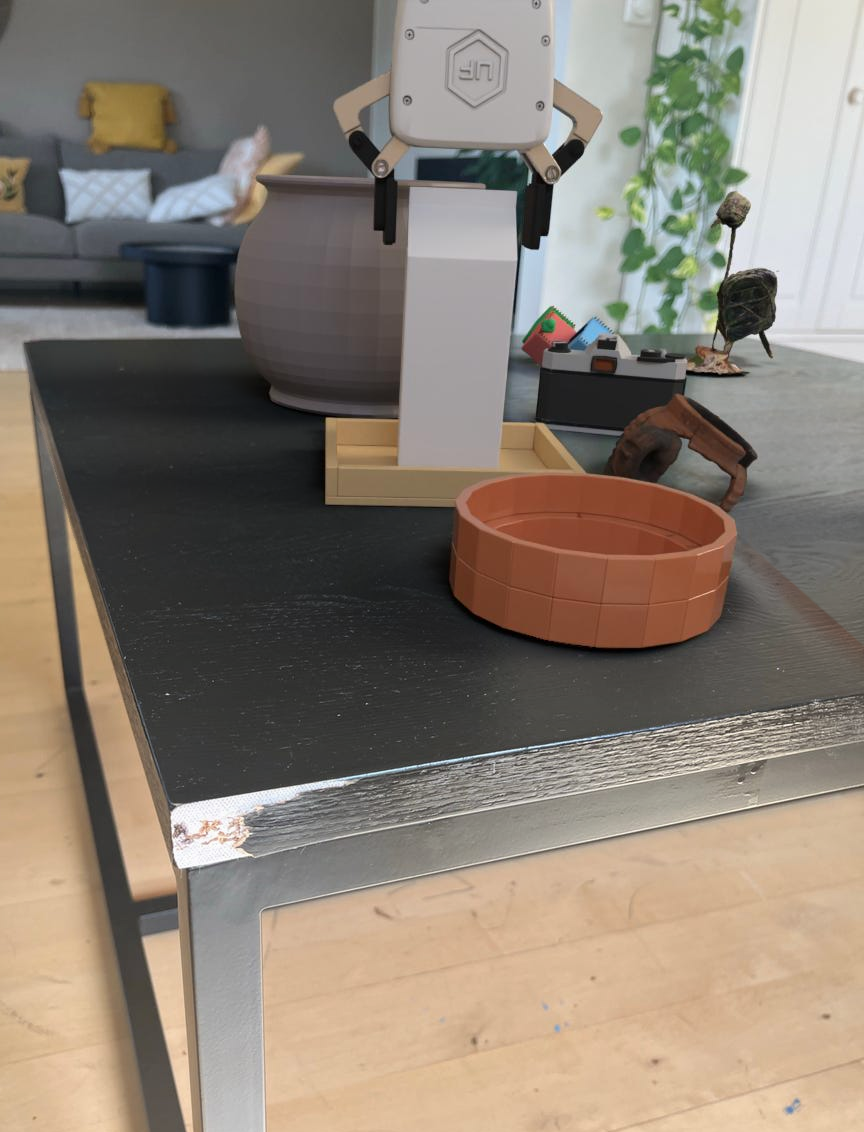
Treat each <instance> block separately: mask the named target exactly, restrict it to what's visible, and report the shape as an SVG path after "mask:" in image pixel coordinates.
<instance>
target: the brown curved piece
mask: <svg viewBox="0 0 864 1132" xmlns="http://www.w3.org/2000/svg"><path fill="white" fill-rule="evenodd" d="M681 438H682V439H684V440H687V441H688V443H687V448H688V449H689V450H691V451H693V452H695V453H697V454H699V455H700V456H701V457H702V458H703V459H705V460H706V461H708V462H712V463H714V464H715V465H717V467H718V468H719V469H720V470H721V471H722V472H724V473H726V474H728V475H729V476H730V481H729V486H728V489H727V490H726V493H725V494H724V496H723V498H722V499H721V500H720V503H719V507H720V508H721V509H722V510H723V511H725V512H726V513H727V514H728V513H729V512H731V511H732V510H733V507H734V506H736V504H738V501H739V499H740V497H742V496H744V495H745V489H746V485H747V480H748V468H749V467H750V466H751V465H752V464H753V462H755V461H757V460H758V453H757V452H756V450H755V449H754V448H753V446H752V445H751V444H750V443H749V442H748V441H747V440H746V439H745V438H744V437H742V435H741V434H740V433H738V431H736V430H735V429H734V428H733V427H732V426H730V425H729V424H728V423H727V422H725V420H724V419H722V418H721V417H720V416H718V415H716V413H714V412H712V411H711V410H710V409H708V408H707V407H705V406H704V405H703V404H701V403H700V402H698V401H696V400H695V399H693V398H690V397H688V396H685V395H684V396H683V395H680V394H675V395H674V396H673V398H672V399H671V401H670V402H669V403H668V404H667V405H666V406H662V407H656V408H653V409H649V410H647V411H646V412H644V413H642V414H639V415H638V416H637V418H636V419H634V420H633V421H631V423H630V425H629V426H627V427H626V428H625V429H624V433H622V434H621V435H620V436H619V439H618V440H617V441H616V443H615V447H613V449H612V451H611V452H612V453H611V455H609V456H608V458H607V461H606V463H605V466H604V469H603V472H602V473H601V475H606V476H615V477H624V478H629V479H634V480H639V481H644V482H650V483H655V484H658V482H659V481H660V478H661V477H662V476H663V475H664V474H665V473H666V472H667V471H668V470H669V467H670V466H671V465H673V464H674V463H675V462H676V461H677V460H678V457H679V454H680V451H681V449H682V445H683V441H682V439H681Z"/></svg>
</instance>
